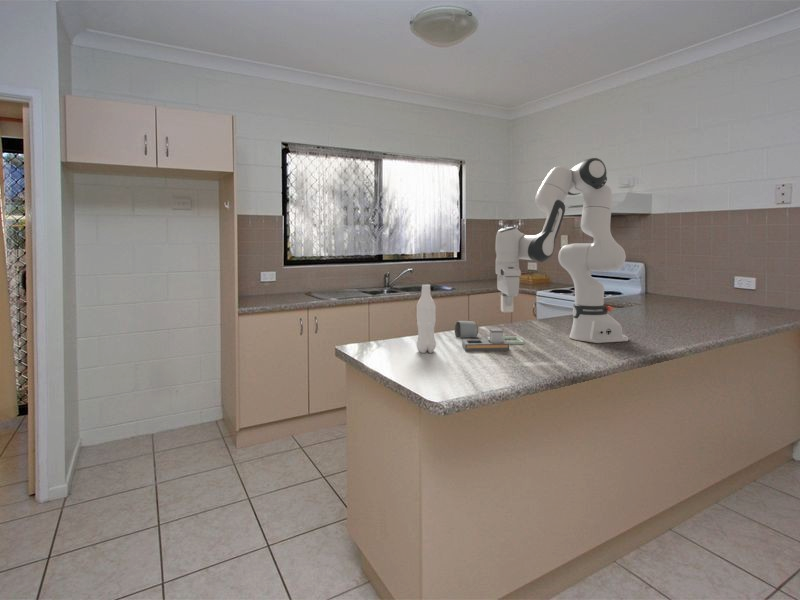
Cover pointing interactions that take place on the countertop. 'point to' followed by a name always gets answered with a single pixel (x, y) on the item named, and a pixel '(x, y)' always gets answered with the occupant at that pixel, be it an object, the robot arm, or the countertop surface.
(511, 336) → the tray
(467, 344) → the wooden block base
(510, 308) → the plug
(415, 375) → the countertop surface
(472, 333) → the ceramic mug
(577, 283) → the robot arm
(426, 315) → the water bottle
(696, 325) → the countertop surface
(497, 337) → the twin plug
